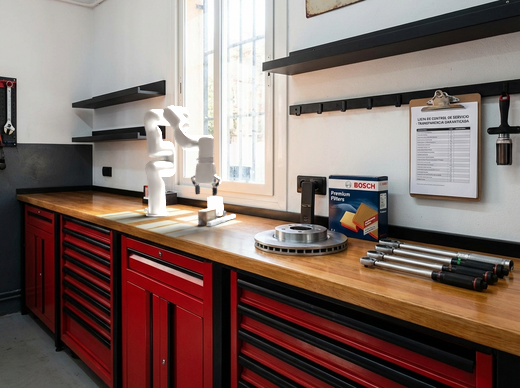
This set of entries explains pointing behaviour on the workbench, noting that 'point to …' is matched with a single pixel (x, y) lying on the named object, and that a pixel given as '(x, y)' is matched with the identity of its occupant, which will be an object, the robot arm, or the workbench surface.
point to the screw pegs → (202, 219)
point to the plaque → (207, 215)
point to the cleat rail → (221, 220)
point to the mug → (216, 205)
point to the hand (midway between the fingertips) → (206, 194)
